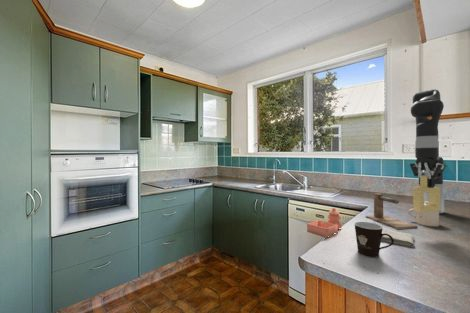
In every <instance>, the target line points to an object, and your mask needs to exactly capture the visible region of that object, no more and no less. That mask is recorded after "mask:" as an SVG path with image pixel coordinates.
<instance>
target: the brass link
mask: <svg viewBox="0 0 470 313" xmlns="http://www.w3.org/2000/svg"><path fill="white" fill-rule="evenodd" d="M428 179H429V178H428V174H426V175H420V185H419V186H413V187H412V188H413V189H412V190H413V191H412V194H413V195H412V198H413V199H412V205H413V206H412V207H413V208H412V209H413V210H412V211H415V212H416V211H419V212H425V211H440V187H434V188H429V187H428ZM427 192H429V205H424V193H427Z"/></svg>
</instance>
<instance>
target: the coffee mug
mask: <svg viewBox="0 0 470 313" xmlns="http://www.w3.org/2000/svg"><path fill="white" fill-rule="evenodd" d="M382 229H384V228H383V225H381V224H378V223H374V222H370V221H369V222H368V221H357V222H354V230H355V239H356V244H357V245H356V246H357V252H358V254H360V255H362V256H364V257H368V258H379V256H380V250H383V249H386V248H390V247H391V246H393V245H394V244H395V243H394V240H393V238H392V236H390V235H389V234H386V233H384V234H382ZM384 235H387V236H389V237H390V238H391V241H392V242H391V243H389V244H388V245H386V246H385V245H384V246H381V242H382V241H381V238H382V236H384Z"/></svg>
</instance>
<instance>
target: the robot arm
mask: <svg viewBox="0 0 470 313" xmlns="http://www.w3.org/2000/svg"><path fill="white" fill-rule="evenodd" d="M444 106H445V105H444V102H443V101H442V100H441V92H440V91H439V90H438V89H430V90H424V91H419V92H415V93H414V94H412V105H411V107H410V115H411V116H412V117H413V118H415V124H416V127H415V142H414V143H415V145H414V147H415V151H414V152H415V153H414V154H415V155H414V156H415V158H416V161H415V162H413V163H410V164H409V166H410V169H411V170H412V174H413V176H414V177H418V184H419V186H420V175H428V178H429V179H428V187H429V188H434V187H440V211H439V214H443V213H445V196H444V177H443V176H444V171H445V169H446V167H447V165H446V164H444V158H443V156H439V148H440V147H439V143H440V142H439V122H440V118H441V115H442V113H443V110H444ZM429 118H431V119H429ZM425 202H429V192H427V193H424V203H425Z"/></svg>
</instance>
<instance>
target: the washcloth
mask: <svg viewBox="0 0 470 313" xmlns="http://www.w3.org/2000/svg"><path fill="white" fill-rule="evenodd" d="M384 233H386V234H389V235H390V236H392V238H393V240H394V243H393V244H396V245H399V246H400V245H401V246H405V247H407V248H408V247H409V248H414V247H415V237H414V235H413V234H411V233H406V232H400V231H396V230H391V229H385V228H383V229H382V234H384ZM381 242H386V243H389V244H391V242H392V241H391V238H390V237H389V236H387V235H384V236H382V238H381Z"/></svg>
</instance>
